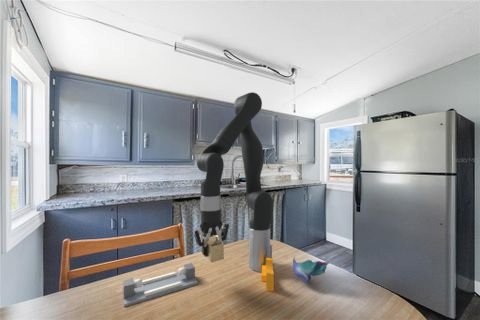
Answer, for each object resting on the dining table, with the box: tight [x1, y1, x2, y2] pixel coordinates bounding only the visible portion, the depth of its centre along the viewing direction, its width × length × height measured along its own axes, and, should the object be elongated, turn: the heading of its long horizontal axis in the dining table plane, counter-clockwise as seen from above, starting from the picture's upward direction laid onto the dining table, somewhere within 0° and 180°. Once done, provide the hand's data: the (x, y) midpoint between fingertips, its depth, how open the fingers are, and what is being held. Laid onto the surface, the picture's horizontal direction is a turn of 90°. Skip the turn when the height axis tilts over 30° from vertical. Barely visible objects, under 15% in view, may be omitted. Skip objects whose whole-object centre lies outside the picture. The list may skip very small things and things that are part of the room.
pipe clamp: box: [261, 257, 275, 292], centre depth 80 cm, size 12×4×6 cm, turn 173°
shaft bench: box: [122, 262, 199, 308], centre depth 76 cm, size 24×10×5 cm, turn 121°
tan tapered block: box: [200, 235, 225, 263], centre depth 76 cm, size 10×5×6 cm, turn 32°
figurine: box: [292, 255, 332, 284], centre depth 79 cm, size 13×12×9 cm
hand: (212, 253), depth 76 cm, fingers closed on tan tapered block, 4 cm apart
